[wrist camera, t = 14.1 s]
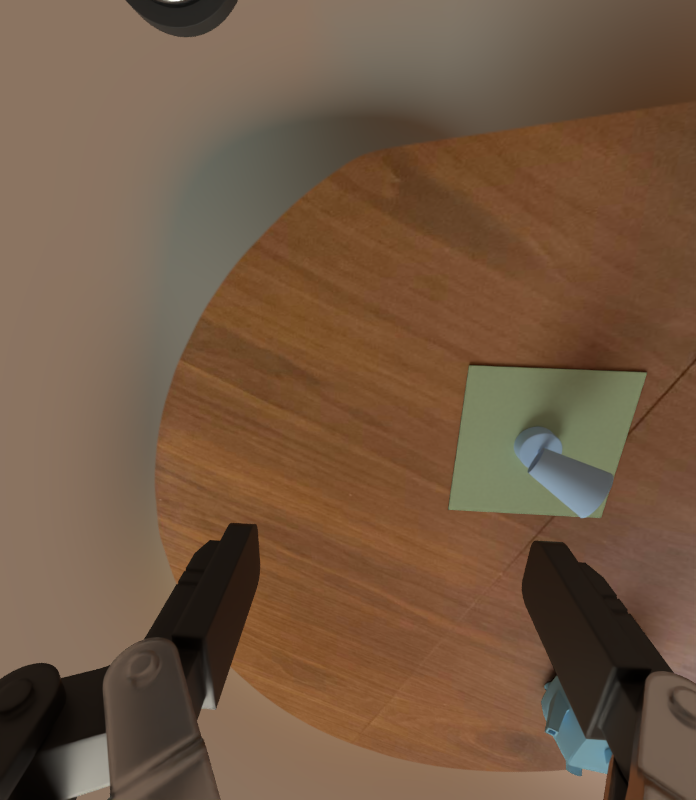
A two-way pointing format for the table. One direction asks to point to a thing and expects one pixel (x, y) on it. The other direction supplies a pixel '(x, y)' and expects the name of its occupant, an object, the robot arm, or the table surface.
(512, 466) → the mat
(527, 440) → the spotlight
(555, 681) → the teapot
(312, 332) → the table surface
